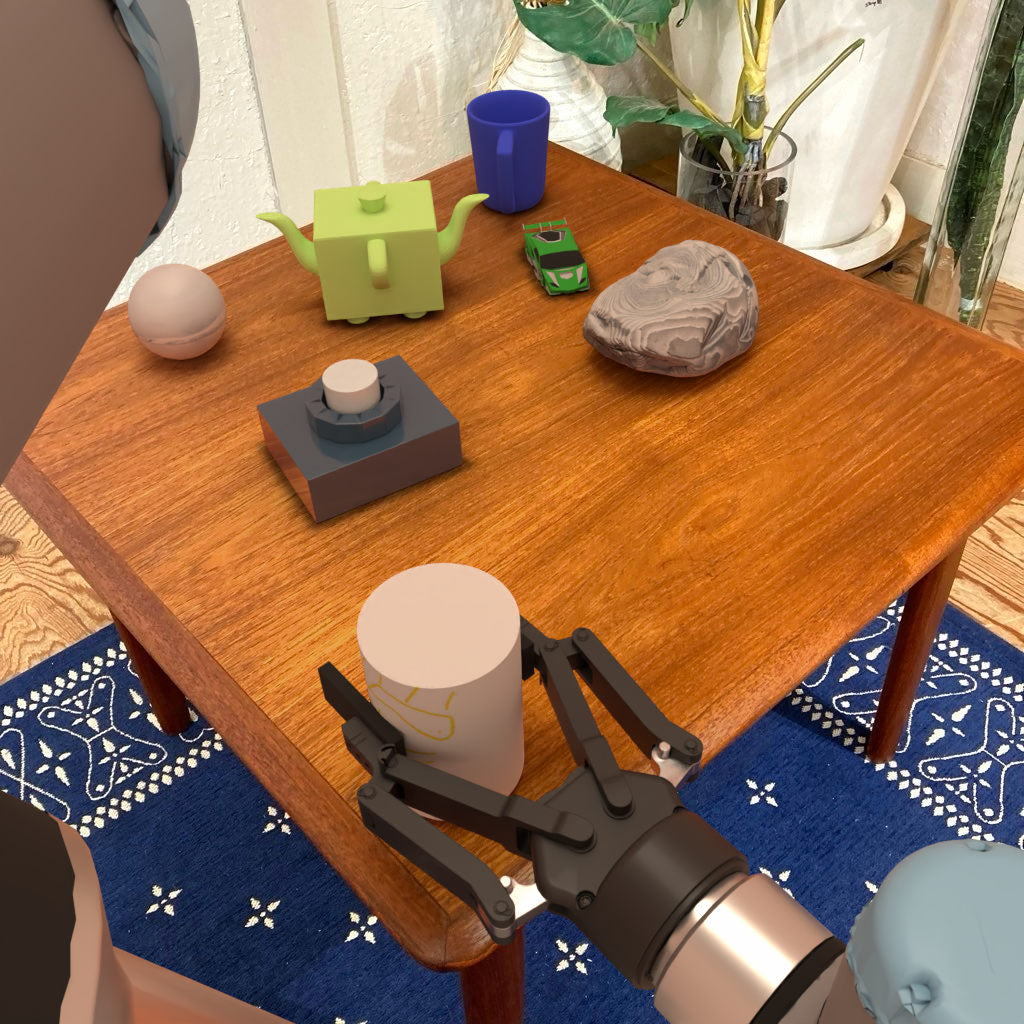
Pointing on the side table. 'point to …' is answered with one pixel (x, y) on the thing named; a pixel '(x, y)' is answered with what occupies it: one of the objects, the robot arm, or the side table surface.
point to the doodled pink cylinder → (448, 670)
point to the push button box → (360, 441)
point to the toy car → (556, 258)
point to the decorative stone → (677, 312)
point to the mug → (509, 147)
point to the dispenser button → (351, 386)
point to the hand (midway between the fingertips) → (392, 637)
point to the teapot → (377, 248)
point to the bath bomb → (177, 311)
